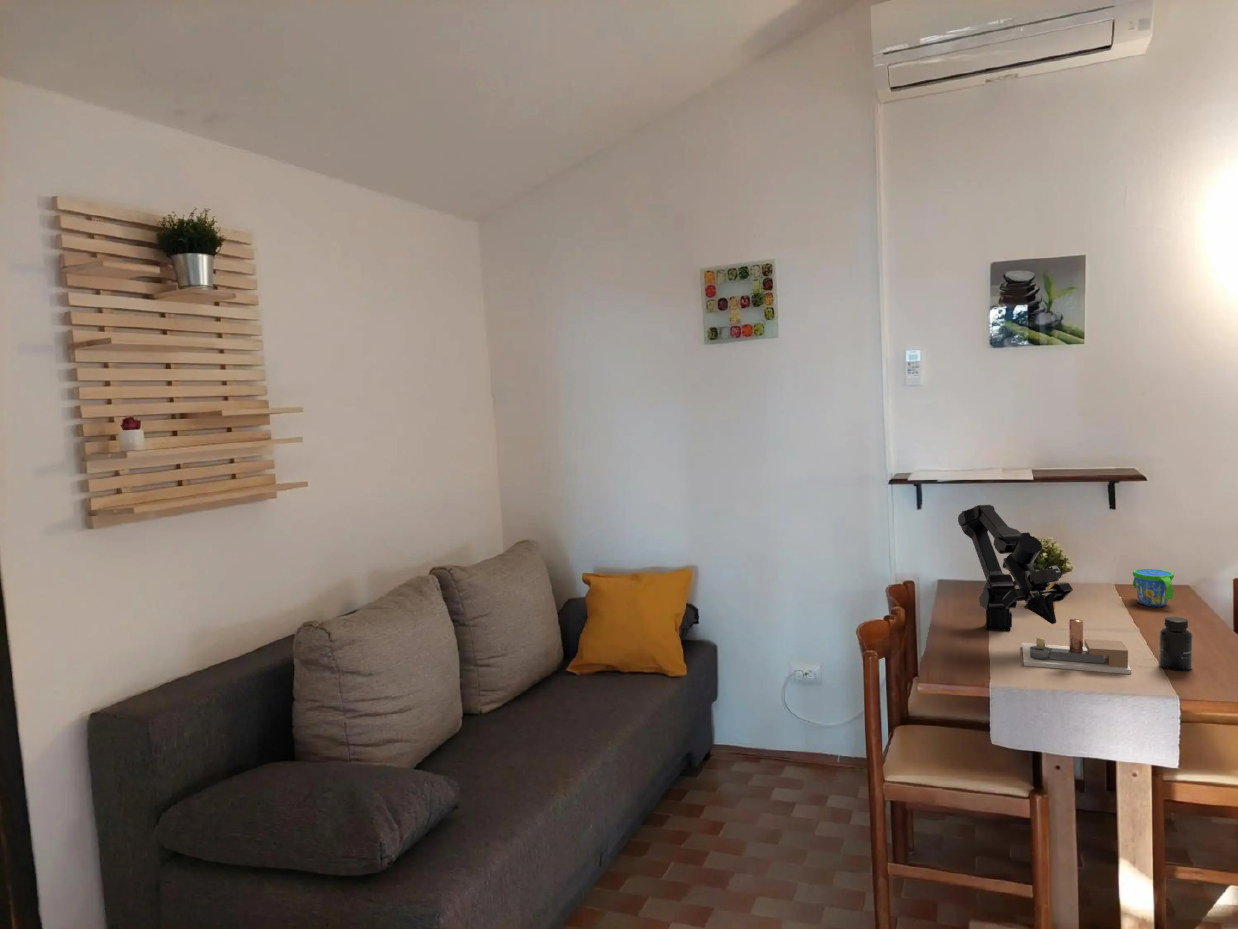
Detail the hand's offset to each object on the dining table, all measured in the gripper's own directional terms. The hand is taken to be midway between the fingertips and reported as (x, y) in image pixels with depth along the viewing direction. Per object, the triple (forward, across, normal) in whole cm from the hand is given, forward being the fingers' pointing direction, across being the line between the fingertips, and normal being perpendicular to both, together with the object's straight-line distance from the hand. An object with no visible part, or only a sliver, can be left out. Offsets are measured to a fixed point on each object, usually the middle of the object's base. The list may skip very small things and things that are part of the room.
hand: (1054, 623), depth 227 cm
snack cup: (-12, +62, +25) cm, 68 cm away
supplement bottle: (+20, +18, -8) cm, 28 cm away
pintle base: (+10, +1, +2) cm, 10 cm away
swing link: (+10, -3, 0) cm, 10 cm away
